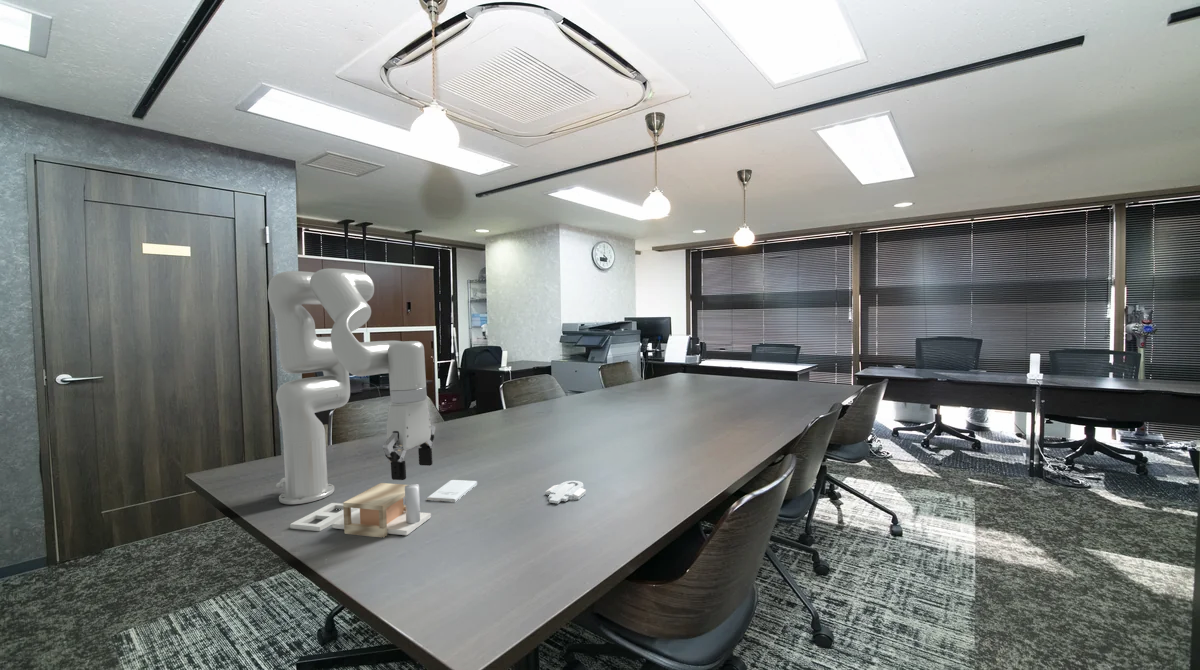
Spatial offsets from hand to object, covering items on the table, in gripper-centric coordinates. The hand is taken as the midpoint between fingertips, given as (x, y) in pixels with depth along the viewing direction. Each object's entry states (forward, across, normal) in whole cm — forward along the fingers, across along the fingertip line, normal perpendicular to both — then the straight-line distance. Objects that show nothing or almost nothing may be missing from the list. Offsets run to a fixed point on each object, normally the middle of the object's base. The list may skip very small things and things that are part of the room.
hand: (413, 471), depth 104 cm
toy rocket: (+14, -25, +28) cm, 40 cm away
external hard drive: (+13, -20, -3) cm, 24 cm away
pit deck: (+12, 0, -24) cm, 27 cm away
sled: (+12, 0, -9) cm, 15 cm away
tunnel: (+12, 0, -9) cm, 15 cm away
